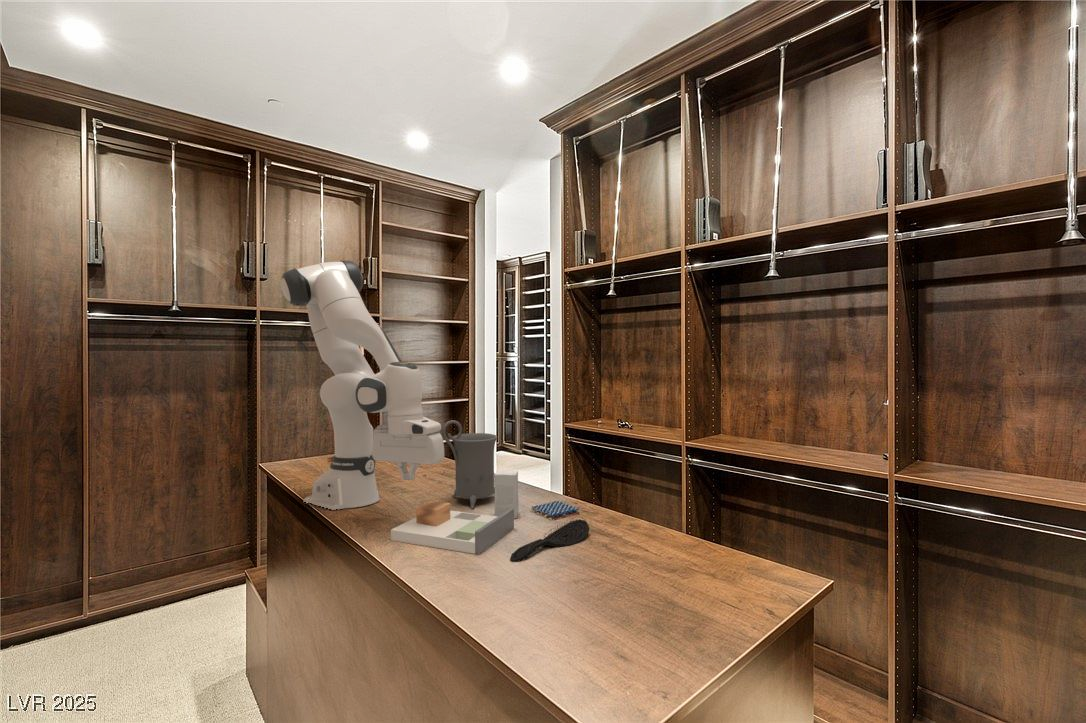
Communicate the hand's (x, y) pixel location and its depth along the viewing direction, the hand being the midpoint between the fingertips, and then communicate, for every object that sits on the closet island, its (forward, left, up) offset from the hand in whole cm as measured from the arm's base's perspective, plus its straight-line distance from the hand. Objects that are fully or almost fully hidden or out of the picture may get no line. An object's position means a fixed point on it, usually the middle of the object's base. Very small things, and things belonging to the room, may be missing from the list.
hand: (408, 479), depth 130 cm
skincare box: (+19, +17, -13) cm, 29 cm away
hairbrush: (+38, +2, -13) cm, 40 cm away
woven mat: (+30, +25, -13) cm, 42 cm away
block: (+7, 0, -10) cm, 12 cm away
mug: (+3, +26, -13) cm, 29 cm away
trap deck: (+13, 0, -12) cm, 18 cm away
